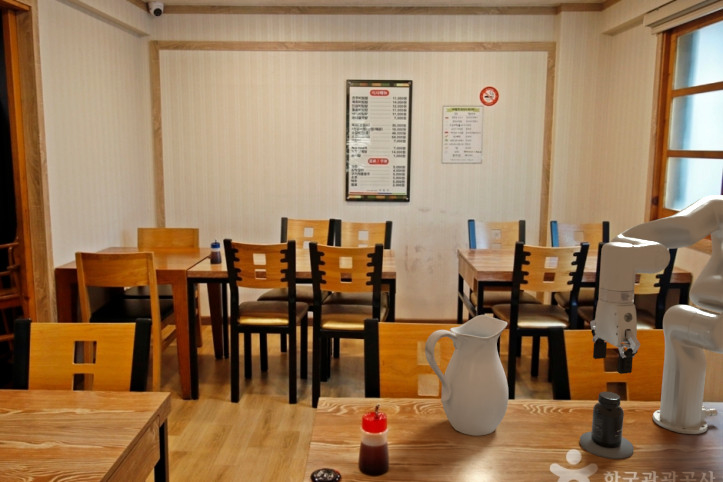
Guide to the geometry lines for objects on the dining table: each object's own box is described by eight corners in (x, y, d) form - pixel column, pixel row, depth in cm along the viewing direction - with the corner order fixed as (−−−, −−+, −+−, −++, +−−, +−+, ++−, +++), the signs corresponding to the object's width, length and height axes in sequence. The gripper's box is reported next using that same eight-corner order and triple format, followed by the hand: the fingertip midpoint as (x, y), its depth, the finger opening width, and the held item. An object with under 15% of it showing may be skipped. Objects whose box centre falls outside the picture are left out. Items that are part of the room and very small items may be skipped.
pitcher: (479, 407, 163) (482, 310, 158) (521, 432, 148) (525, 327, 143) (406, 424, 152) (407, 321, 148) (442, 454, 137) (445, 340, 133)
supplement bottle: (624, 450, 137) (628, 402, 136) (593, 447, 139) (597, 400, 137) (617, 436, 144) (621, 390, 142) (588, 434, 145) (591, 388, 144)
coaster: (613, 432, 148) (613, 429, 148) (644, 456, 136) (644, 452, 136) (570, 436, 146) (570, 433, 146) (598, 461, 134) (598, 458, 134)
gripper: (655, 304, 128) (650, 377, 131) (608, 286, 145) (603, 352, 148) (625, 306, 127) (620, 380, 129) (580, 287, 144) (577, 354, 146)
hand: (611, 365), depth 139 cm, fingers open, 9 cm apart
